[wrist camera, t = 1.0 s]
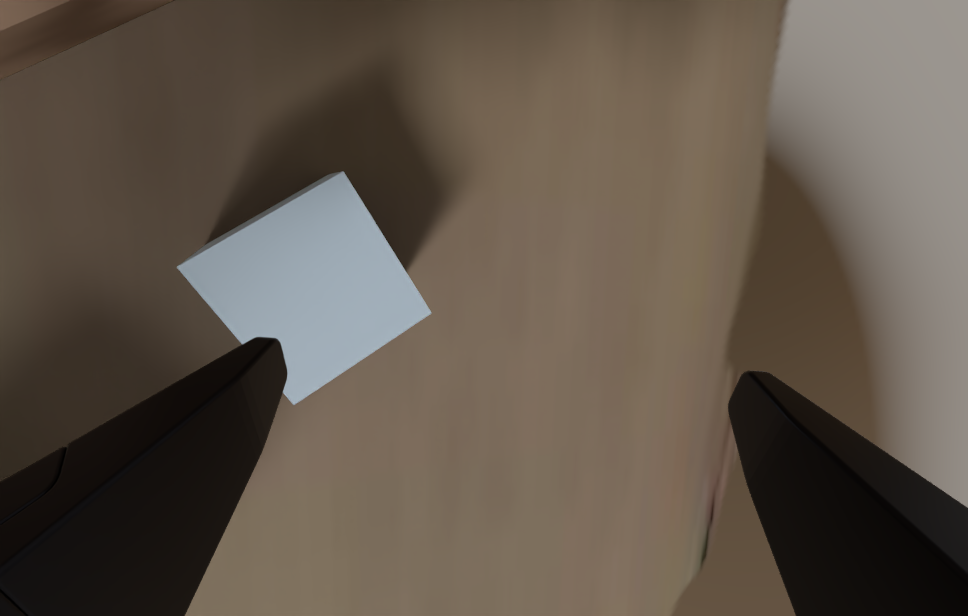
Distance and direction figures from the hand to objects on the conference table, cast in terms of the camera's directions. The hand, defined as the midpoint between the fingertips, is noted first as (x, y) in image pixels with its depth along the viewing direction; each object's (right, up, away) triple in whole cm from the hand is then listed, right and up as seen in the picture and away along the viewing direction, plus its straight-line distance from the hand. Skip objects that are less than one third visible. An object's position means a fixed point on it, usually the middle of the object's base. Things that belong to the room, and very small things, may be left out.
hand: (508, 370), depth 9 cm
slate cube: (-8, +3, +11) cm, 14 cm away
